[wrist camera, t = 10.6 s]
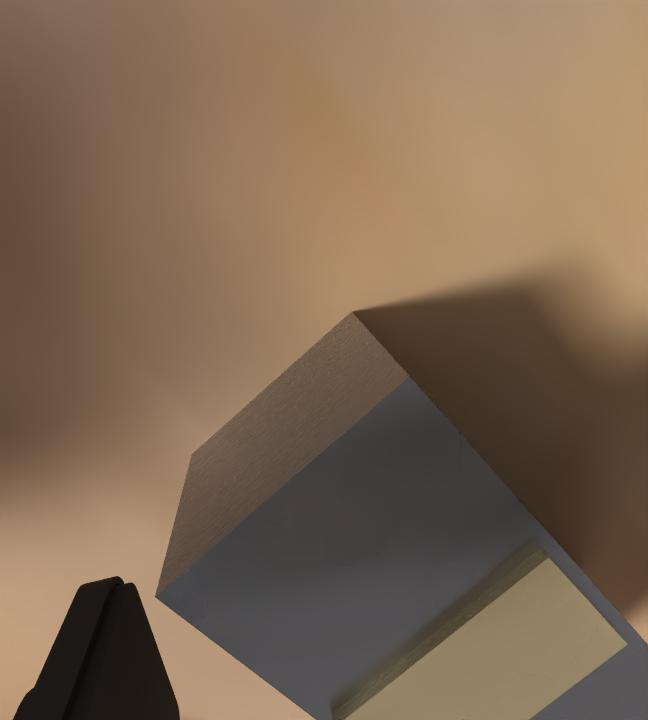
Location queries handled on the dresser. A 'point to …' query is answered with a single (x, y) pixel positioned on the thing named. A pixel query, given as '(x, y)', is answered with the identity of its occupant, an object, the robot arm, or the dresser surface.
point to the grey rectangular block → (387, 560)
